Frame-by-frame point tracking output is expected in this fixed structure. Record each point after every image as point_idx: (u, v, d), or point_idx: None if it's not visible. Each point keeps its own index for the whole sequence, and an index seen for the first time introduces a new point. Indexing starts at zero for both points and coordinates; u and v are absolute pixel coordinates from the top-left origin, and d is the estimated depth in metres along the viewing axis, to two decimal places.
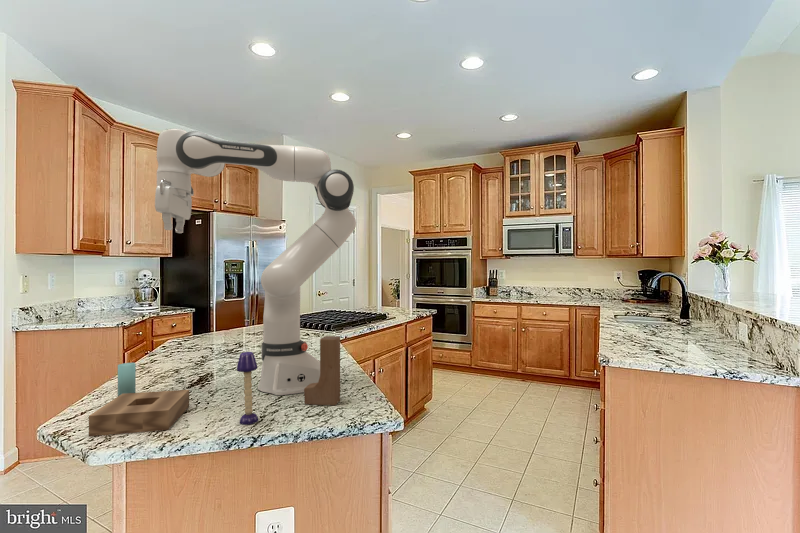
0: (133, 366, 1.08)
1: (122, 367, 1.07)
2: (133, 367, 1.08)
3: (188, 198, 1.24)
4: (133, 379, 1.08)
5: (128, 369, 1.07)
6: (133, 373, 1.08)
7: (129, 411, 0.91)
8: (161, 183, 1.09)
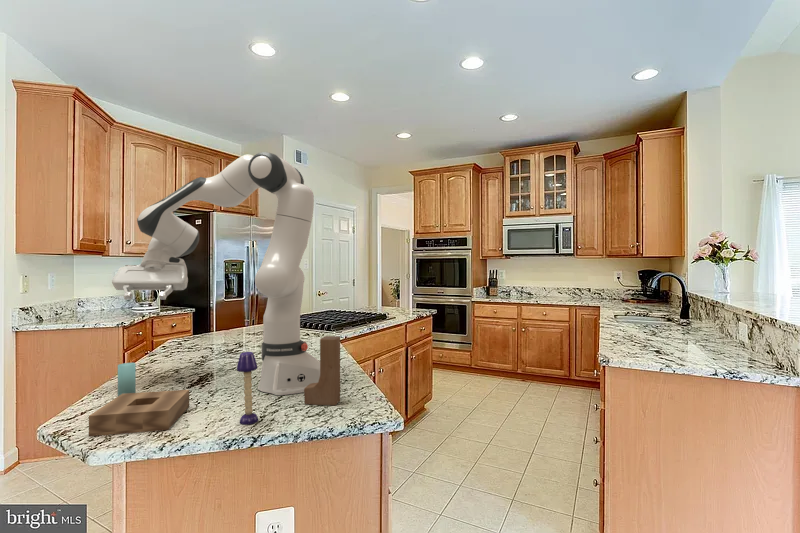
0: (133, 366, 1.08)
1: (122, 367, 1.07)
2: (133, 367, 1.08)
3: (171, 267, 1.28)
4: (133, 379, 1.08)
5: (128, 369, 1.07)
6: (133, 373, 1.08)
7: (129, 411, 0.91)
8: None
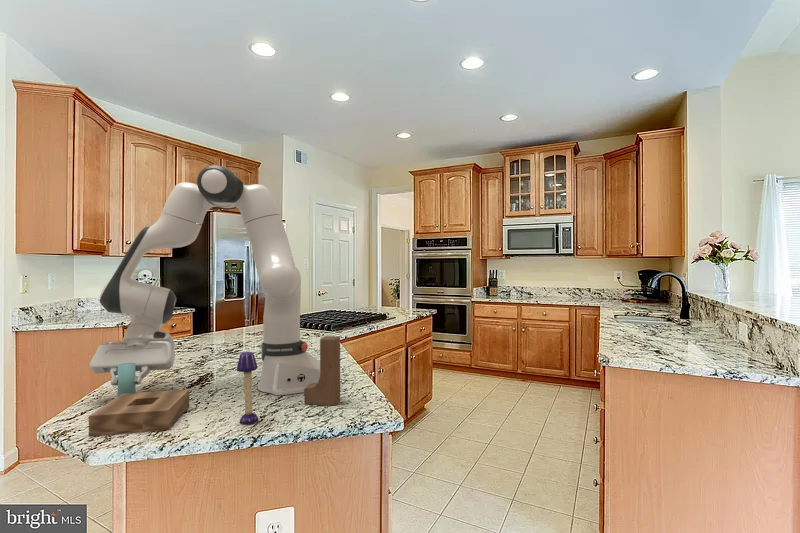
0: (133, 366, 1.08)
1: (122, 367, 1.07)
2: (133, 367, 1.08)
3: (156, 344, 1.15)
4: (133, 379, 1.08)
5: (128, 369, 1.07)
6: (133, 373, 1.08)
7: (129, 411, 0.91)
8: None
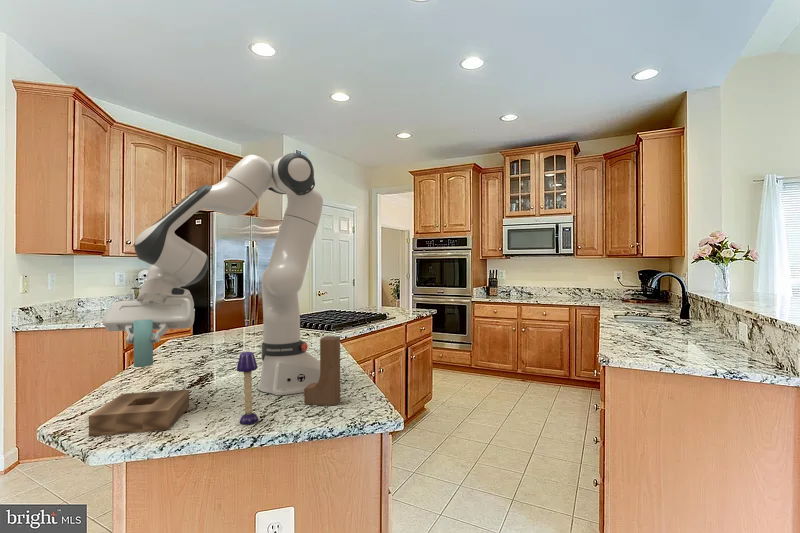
0: (150, 322, 0.98)
1: (138, 323, 0.96)
2: (150, 323, 0.98)
3: (174, 300, 1.05)
4: (150, 336, 0.98)
5: (144, 325, 0.97)
6: (150, 330, 0.98)
7: (129, 411, 0.91)
8: None
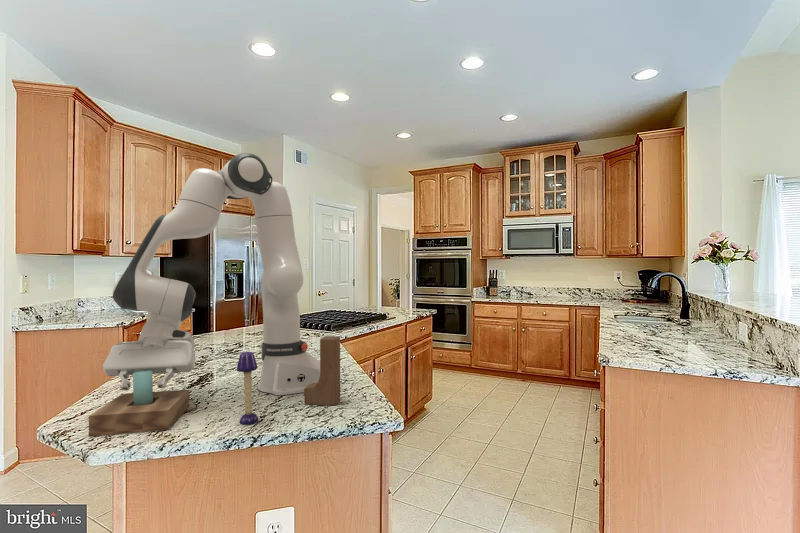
0: (150, 374, 0.98)
1: (138, 375, 0.96)
2: (150, 375, 0.98)
3: (175, 343, 1.04)
4: (150, 388, 0.98)
5: (144, 378, 0.96)
6: (150, 382, 0.98)
7: (129, 411, 0.91)
8: None
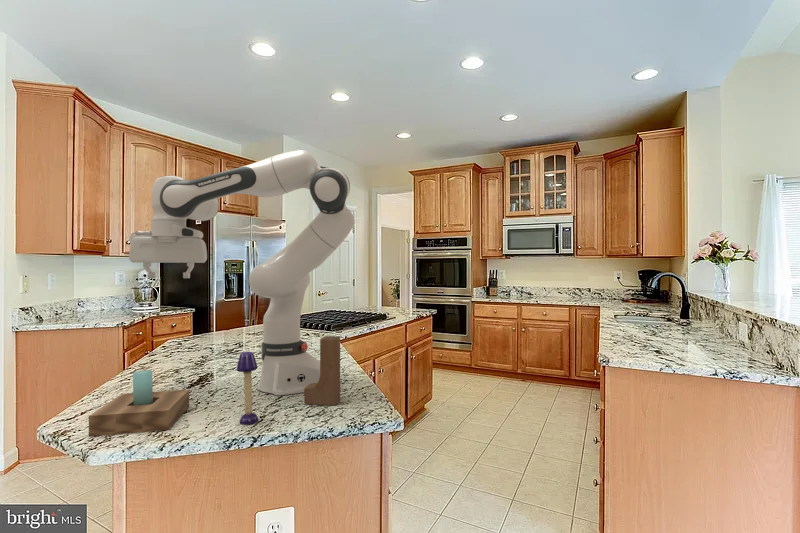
0: (150, 374, 0.98)
1: (138, 375, 0.96)
2: (150, 375, 0.98)
3: (186, 241, 1.17)
4: (150, 388, 0.98)
5: (144, 378, 0.96)
6: (150, 382, 0.98)
7: (129, 411, 0.91)
8: None
